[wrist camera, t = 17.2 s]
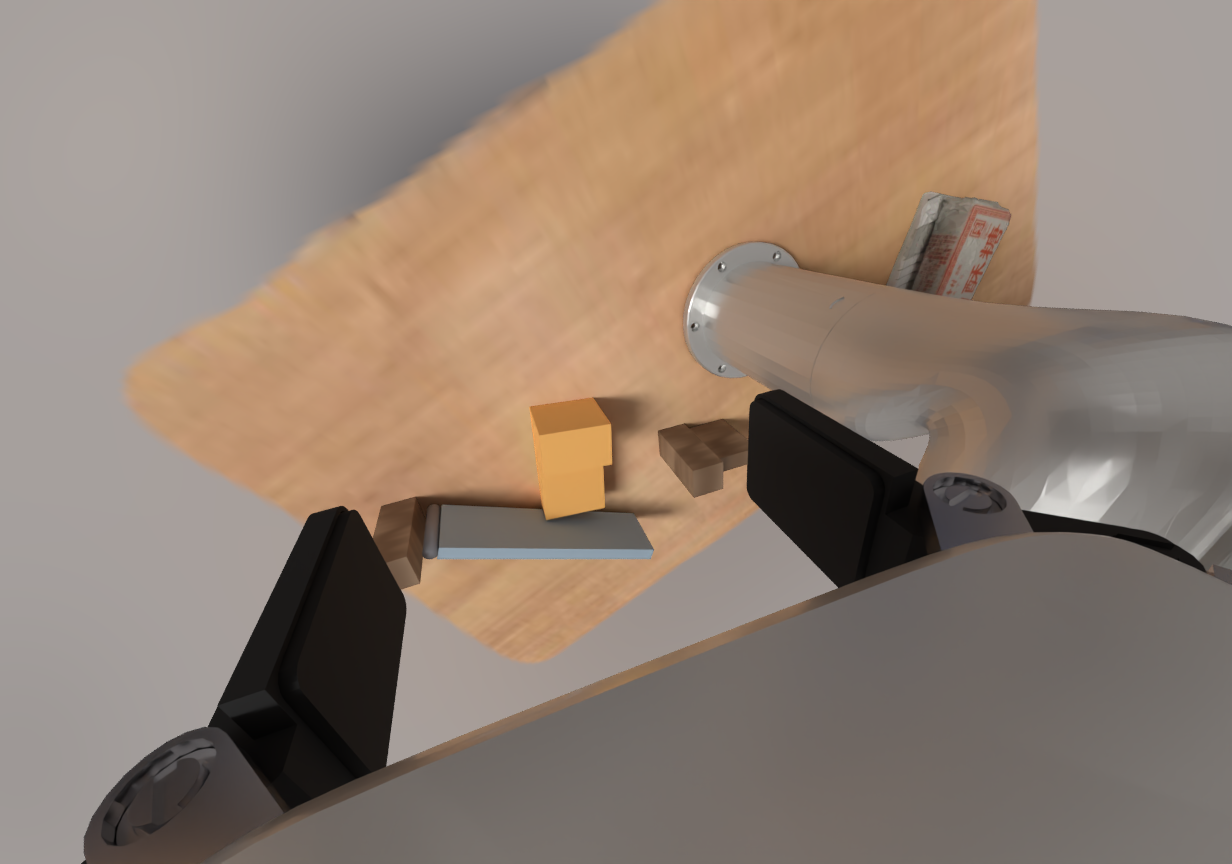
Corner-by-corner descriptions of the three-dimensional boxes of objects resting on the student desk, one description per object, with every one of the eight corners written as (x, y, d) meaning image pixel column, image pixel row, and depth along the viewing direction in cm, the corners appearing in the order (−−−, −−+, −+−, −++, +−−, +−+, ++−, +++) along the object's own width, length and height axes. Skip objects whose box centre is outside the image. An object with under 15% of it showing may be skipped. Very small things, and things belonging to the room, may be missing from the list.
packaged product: (967, 189, 38) (1036, 207, 41) (918, 190, 42) (984, 206, 46) (885, 382, 46) (949, 384, 49) (850, 367, 50) (911, 370, 53)
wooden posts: (722, 413, 46) (767, 449, 40) (722, 437, 48) (765, 475, 41) (381, 506, 39) (364, 569, 33) (393, 530, 41) (380, 595, 34)
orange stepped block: (529, 405, 40) (539, 435, 35) (592, 396, 41) (611, 423, 36) (541, 502, 45) (551, 540, 40) (596, 491, 46) (613, 526, 41)
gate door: (426, 514, 40) (421, 559, 35) (427, 503, 40) (423, 547, 35) (630, 522, 49) (650, 558, 44) (633, 513, 48) (653, 549, 43)
